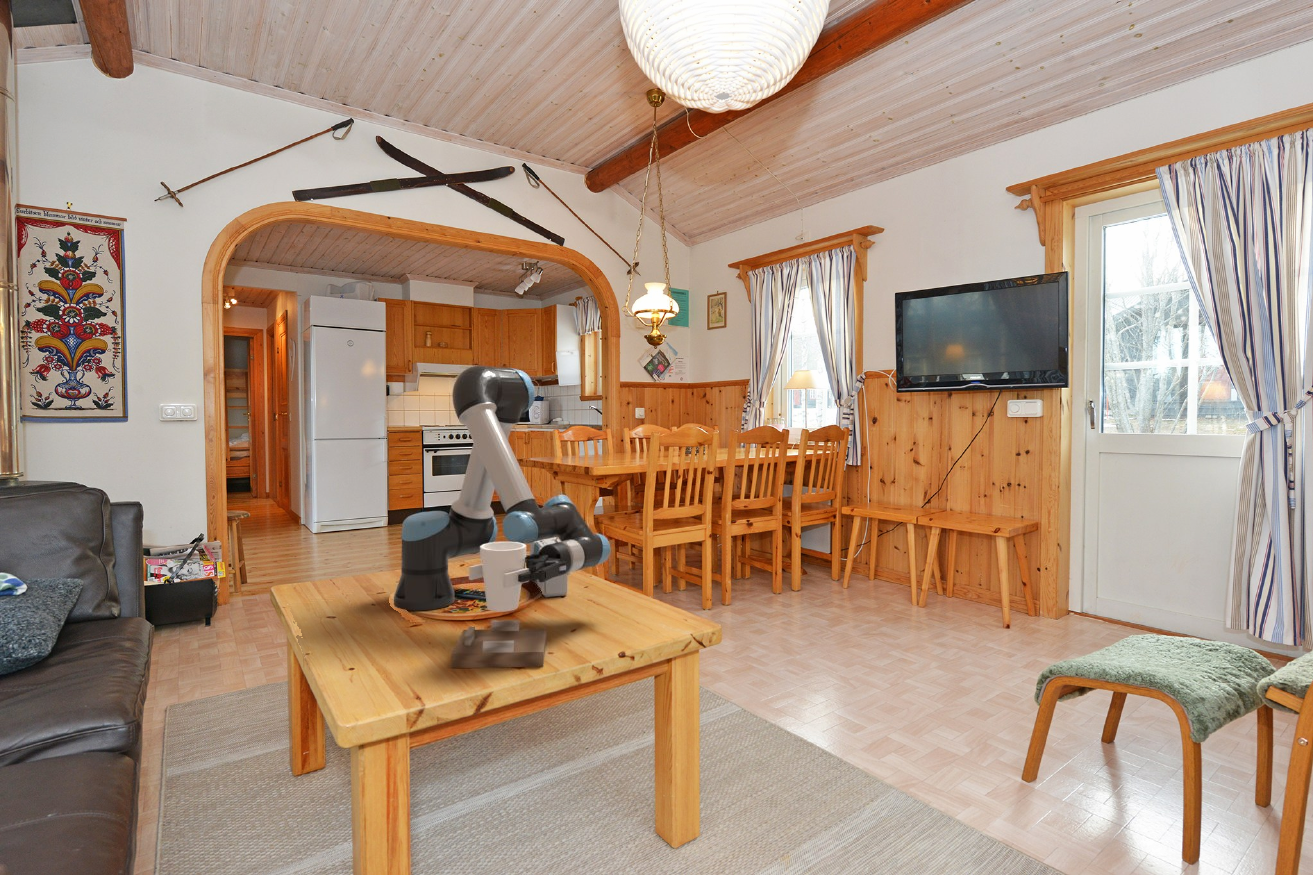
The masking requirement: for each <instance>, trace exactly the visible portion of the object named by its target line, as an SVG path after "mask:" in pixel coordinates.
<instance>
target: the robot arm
mask: <svg viewBox="0 0 1313 875" xmlns="http://www.w3.org/2000/svg"><path fill="white" fill-rule="evenodd" d="M451 395H452V405H453V410H454V412H455V414H456V417H457V419H458V421H459V423H460V424H461V425H464V426H466V429H467V430H468V433H469V435H470V437H471V439H472V442H473V444H472V448H471V451H470V455H469V459H468V463H467V467H466V470H465V476H464V478H463V483H462V485H461V486H462V487H461V489H460V494H459V498H458V499H456V500H454V501H453V502H452V503H451V507H450V509H449V513H448V512H446V511H442V510H432V511H431V510H430V511H422V512H418V513H414V514H411V515H409V516H407V517H406V518H405V519H404V520H403V522H402V528H401V533H400V537H401V564H400V565H401V570H400V571H401V572H400V573H401V574H400V578H399V580H398V584H397V586H396V589H395V592H394V595H393V606H394V607H396V608H397V609H401V610H405V611H429V610H436V609H441V608H445V607H448V606H451V605H452V604H454V602H455V590H454V587H453V584H452V581H451V578H450V574H449V559H453V558H459V557H463V556H468V555H477V554H480V546H481V545H483V544H487V543H492V542H496V539H497V535H498V525H497V520H496V518H495V516H494V514H495V513H494V510H493V508H492V507H491V503H492V501H493V496H494V493H495V492H496V495H497V497H498V499H499V501H500V503H501V506H502V507H503V509H504V511H505V514H506V516H505V517H504V518H503V520H502V528H503V530H502V532H503V536H504V537H505V539H506V541H507V542H519V543H523V544H525V545H526V544H529V545H530V543H532V542H535V541H539V540H543V539H549V538H554V537H556V538H557V537H559V538H558V539H559V540H560V541H561V542H557V543H553V544H549V545H545V546H544V547H542V548H541V550H540V551H539V553H536V554H532V555H530V554H529V555H527V554H526V557H525V563H524V569H521V570H517V571H513V572H510V573H506V574H503V587H504V588H508V587H511V586H515V585H518V584H521V585H523V584H524V583H529V582H533V583H534V581H536V580H539V582H545V581H547V580H549V579H551V578H553V577H557V576H561V575H564V574H566V575H568V576H569V575H570V574H571V573H573V572H577V571H580V570H584V569H587V568H593V567H596V566H598V565H600V564H603V563H605V562H606V561H607V560H608V559H609V557H610V554H611V544H610V541H609V540H608V538H607V537H606V536H605V535H604V534H601V533H594V532H593V531H592V529H591V528H590V527H589V526H588V524H587V523H586V521H585V520H584V519H585V518H583V516H582V514H580V512H579V510H578V509H577V507H576V505H575V504H574V503H573V501H572V500H571V499H570V497H568V496H567V495H565V494H558V495H556V496H553V497H551V498H549V499H548V500H547V501H546V502H545V503H544V504H543V506H542V507H539V504H538V502H537V501H536V498H535V496H534V495H533V491H532V490H531V488H530V484H528V481H527V479H526V477H525V475H524V473H523V471H522V468H521V466H520V464H519V462H518V460H517V458H516V456H515V453H514V451H513V449H512V447H511V445H510V442H509V437H510V434H511V430H512V428H513V427H514V426H516V425H518V424H519V422H520V419H521V416H522V414H523V413H525V412H527V411H529V409H530V408H532V406H533V404H534V402H535V398H536V397H535V396H536V391H535V386H534V383H533V382H532V379H531V377H530V376H529V375H528V374H527V373H526V372H525V371H523V370H520V369H517V368H512V367H500V366H499V367H498V366H487V365H473V366H470V367H468V368H466V369H464V371H462V372H461V373H460V374H459V375H458V377H457V378H456V380H455V382H454V385H453V387H452V394H451ZM482 578H483V570H482V563H479V564H475V565H470V566H469V567H468V580H470V581H473V580H478V579H482Z"/></svg>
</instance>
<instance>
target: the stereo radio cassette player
mask: <svg viewBox="0 0 1313 875" xmlns="http://www.w3.org/2000/svg"><path fill="white" fill-rule="evenodd" d="M557 542H561V540H560V539H559V537H554V538H549V539H543V540H539V541H535V542H532V543H529V555H532V554H536V553H539V551H540V550H541V548H542V547H544V546H545V545H549V544H553V543H557ZM568 577H569V575H566V574H564V575H561V576H557V577H553V578H551V579H549V580H547V581H545V582H539V580H536V581H534V582H535V583H536V584H537V585H538V586H539V587H540V588H541V590H542V593H541V595H543V596H544V597H545V598H549V597H560V596H563V597H565V596H567V594H568ZM534 582H533V583H534ZM535 583H534V584H535ZM536 584H535V585H536Z"/></svg>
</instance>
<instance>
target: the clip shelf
mask: <svg viewBox="0 0 1313 875" xmlns="http://www.w3.org/2000/svg"><path fill="white" fill-rule="evenodd" d="M546 645H547V628H523V629H522V628H520V620H519V619H517V620H516V619H514V620H510V619H509V620H507V619H506V620H505V619H504V620H491V621H490V629H476V628H475V626H469V627H468V629H463V630H462V632H461V634H460V636H459V638H458V640H457V642H456V644H455V646H454V649H453V650H452V652H451V669H468V668H469V669H476V668H477V669H479V668H480V669H482V668H483V669H484V668H489V669H490V668H536V667H537V668H538V667H539V668H540V667H544V664H545V663H544V662H545V655H546V653H545V652H546Z"/></svg>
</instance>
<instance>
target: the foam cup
mask: <svg viewBox="0 0 1313 875" xmlns="http://www.w3.org/2000/svg"><path fill="white" fill-rule="evenodd" d="M526 555H527V545H526V544H523V543H519V542H509V541H494V542H492V543H487V544H483V545H481V546H480V552H479V558H480V562H481V564H482V570H483V577H482V578H483V584H484V585H483V586H484V593H485V594H484V595H485V599H486V600H485V602H486V609H487V610H488V611H491V612H498V613H501V612H502V613H503V612H504V613H506V612H512V611H515V610H517V609H518V608H519V604H520V597H521V591H522V590H521V588H522V584H518V585H515V586H511V587H508V588H504V587H503V574H506V573H510V572H513V571H517V570H521V569H524V563H525V557H526ZM525 564H526V563H525Z"/></svg>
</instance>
